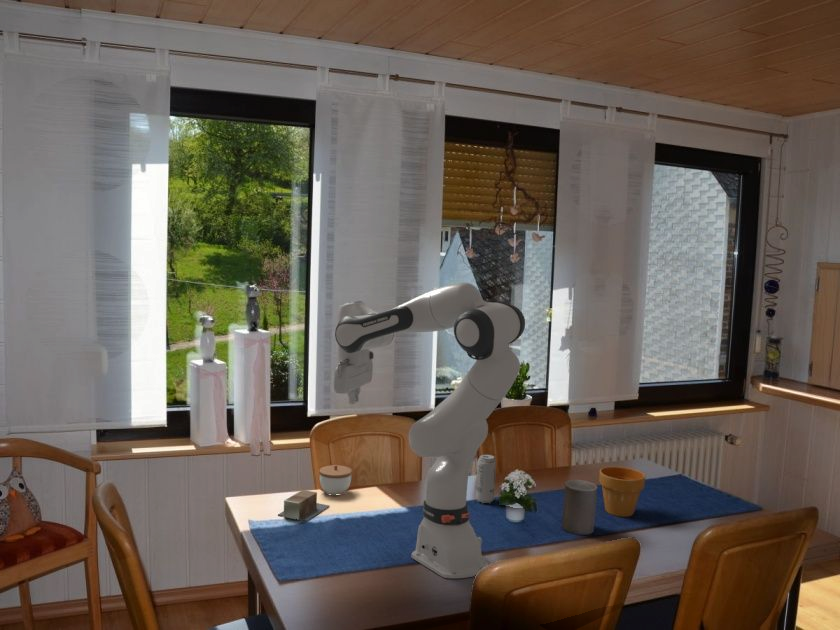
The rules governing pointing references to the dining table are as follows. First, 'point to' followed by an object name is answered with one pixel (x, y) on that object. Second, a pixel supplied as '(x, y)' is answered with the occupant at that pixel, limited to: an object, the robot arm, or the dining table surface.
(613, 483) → the flower pot
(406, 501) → the dining table surface
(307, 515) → the felt mat
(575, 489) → the pillar candle
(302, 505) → the walnut block
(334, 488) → the lidded jar
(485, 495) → the energy drink can
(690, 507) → the dining table surface
